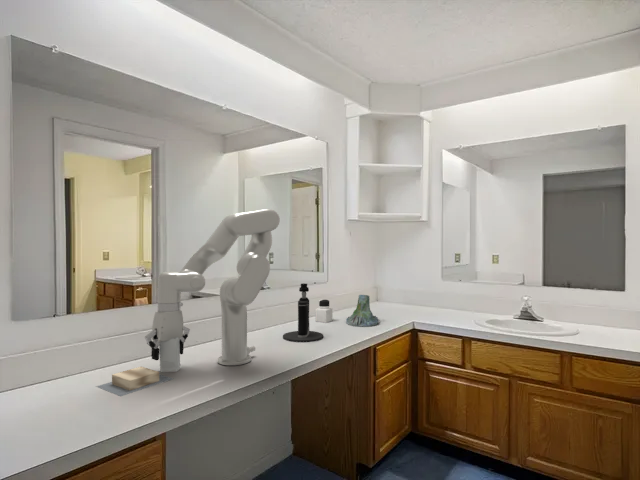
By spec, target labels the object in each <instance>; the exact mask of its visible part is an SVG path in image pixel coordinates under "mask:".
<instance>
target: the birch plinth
mask: <svg viewBox="0 0 640 480" xmlns="http://www.w3.org/2000/svg"><path fill="white" fill-rule="evenodd" d="M159 374H160V371H158V370H154V369H151V368H147V367H145V366H138V367H134V368H131V369H127V370H123V371H119V372H116V373H112V374H111V382H112V384H113V385H116V386H119V387H121V388H124V389H127V390H133V389H136V388H139V387H143V386H146V385H149V384H152V383H155V382H158V381H159Z"/></svg>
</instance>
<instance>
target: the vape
mask: <svg viewBox="0 0 640 480" xmlns="http://www.w3.org/2000/svg"><path fill="white" fill-rule="evenodd" d="M298 290H299V293H300V292H301V297H300V298H299V300H298V301H297V330H294V331H288V332H286V333H283V335H282V339H283V340H285V341H287V342H292V343H313V342H318V341H321V340H322V339H324V334H323V333H321V332H318V331H316V330H315V331H314V330H310V299H309V298H308V297H307V293H308V292H309V286H308V283H300V287H299V289H298Z"/></svg>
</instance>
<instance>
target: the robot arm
mask: <svg viewBox="0 0 640 480" xmlns="http://www.w3.org/2000/svg"><path fill="white" fill-rule="evenodd" d="M279 225H280V216H279V214H278V212H277V211H276V210H274V209H272V208H266V209H264V208H263V209H257V210H254V211H247V212H246V211H245V212H236V213H230V214H227V215H226V216H225V217H223V219H222V221H220V223H219V224H218V226H217V227H216V228H215V230H214V231H213V232H212V234H210V237H209V238H208V239H207V240H206V242H205V243H204V244H203V245H202V246H201V247H200V248H199V249H198V250H197V251H196V252H195V253H194V254H193V255H192V256H191V257H190V258H189V260H187V262H186V263H185V264H184V266H183V267H182V269H181V270H180V271H179V272H178V271H163V272H160V273H159V274H158V279H157V281H158V283H157V284H158V285H157V311H155V313H154V316H153V320H152V326H151V331H150V332H149V333H148V334H146V335H145V336H144V339H145V341H146V344H147V345H148V346H149V348H151V360H154V361H160V347H159V345H160V343H161V342H165V341H169V340H170V339H173V338H177V337H178V338H179V343H180V355H183V354H184V344H185V342H186V340H187V339H188V337H189V334H190V331H191V329H190V328H188V327H186V326H184V317H183V311H182V310H181V307H183V305H184V304H183V302H181V301H182V299H181V298H182V295H181V294H182V293H188V294H189V293H191V294H195V293H199V292H202V290H203V289H204V288H205V286H206V279H205V276H204V275H203V274H204V273H205V272H206V271H207V269H209V268H210V267H211V266H212V265H213V264H215V263H216V262H219V261H220V260H222V259H224V257H225V256H226V255H227V254H228V252H229V251H230V249H231V248H232V247H233V245H234V244H235V242H236V241H237V240H238V238H239V237H241V236H242V237H245V236H250V235H251V237H250V240H249V242H248V245H247V246H246V248H245V250H244V251H243V253H242V255H241V256H240V257H239V260H238V261H237V264H236V272H237V273H238V274H239V277H230V278H227V279H226V280H224V281H223V282H222V284H221V286H220V287H219V288H220V289H219V299H220V307H221V355H220V356H219V357H217V364H220V365H223V366H240V365H245V364H248V363H250V362H251V361H252V356H251V355H250V353H252V352H255V351H256V346H254V345H253V346H248V310H247V306H249V305H251V304H252V303H253V302H254V301H255V299H256V298H257V296H258V294H259V293H260V291H261V290H262V288H263V286H264V285H265V283H266V281H267V279H268V277H269V274H270V271H271V264H270V261H269V259H268V258H267V256H268V254H269V253H270V251H271V248H272V245H273V237H272V231H274V230H276V229H277V228H278V227H279Z"/></svg>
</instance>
